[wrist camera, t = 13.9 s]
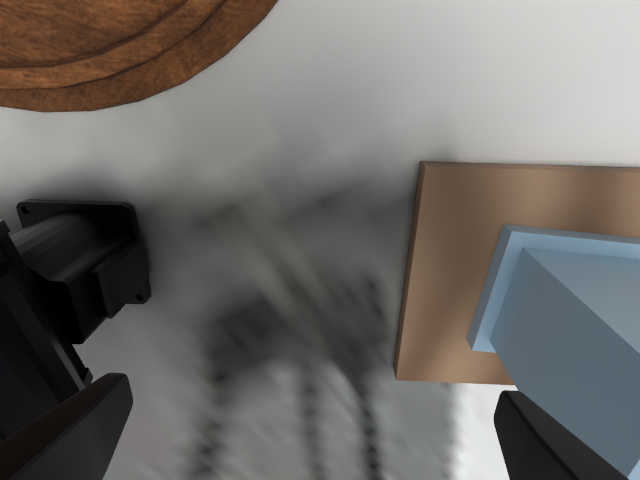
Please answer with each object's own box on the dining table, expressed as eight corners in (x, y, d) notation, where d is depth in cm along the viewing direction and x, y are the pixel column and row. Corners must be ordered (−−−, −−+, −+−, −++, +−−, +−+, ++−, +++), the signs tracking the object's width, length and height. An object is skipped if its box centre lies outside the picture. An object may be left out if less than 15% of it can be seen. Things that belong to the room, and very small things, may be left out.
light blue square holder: (466, 339, 22) (564, 534, 13) (503, 224, 19) (669, 368, 10) (589, 351, 23) (778, 555, 13) (646, 238, 19) (950, 397, 10)
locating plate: (393, 366, 25) (404, 419, 21) (420, 161, 19) (441, 182, 16) (632, 376, 25) (687, 431, 21) (731, 170, 19) (832, 194, 15)
